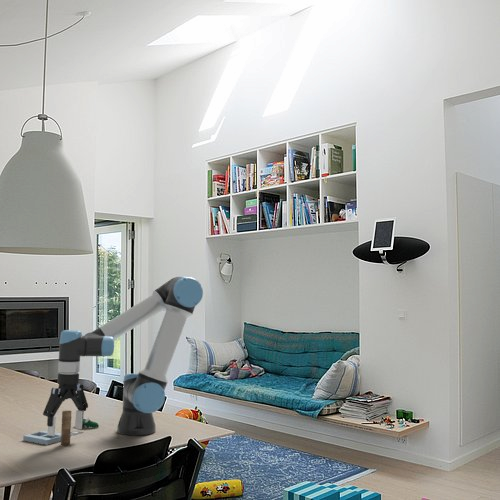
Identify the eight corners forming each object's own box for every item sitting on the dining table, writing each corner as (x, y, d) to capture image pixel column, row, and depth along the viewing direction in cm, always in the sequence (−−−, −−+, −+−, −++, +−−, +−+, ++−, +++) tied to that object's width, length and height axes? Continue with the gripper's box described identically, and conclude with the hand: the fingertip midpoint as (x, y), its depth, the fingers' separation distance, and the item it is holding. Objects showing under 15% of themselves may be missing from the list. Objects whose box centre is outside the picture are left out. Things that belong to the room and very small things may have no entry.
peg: (71, 444, 225) (73, 411, 226) (65, 446, 222) (66, 412, 223) (65, 443, 226) (66, 410, 227) (58, 445, 224) (60, 411, 224)
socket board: (67, 439, 232) (67, 434, 232) (46, 445, 223) (47, 440, 223) (43, 435, 237) (43, 430, 237) (23, 440, 229) (23, 435, 229)
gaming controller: (80, 429, 257) (72, 420, 254) (85, 421, 259) (78, 413, 256) (94, 433, 251) (86, 424, 248) (100, 425, 253) (92, 416, 250)
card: (83, 432, 243) (83, 432, 243) (65, 437, 235) (65, 437, 235) (74, 430, 246) (74, 430, 246) (56, 435, 237) (57, 435, 237)
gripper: (84, 368, 239) (81, 424, 237) (34, 375, 217) (31, 436, 215) (99, 370, 235) (96, 427, 234) (50, 377, 213) (46, 440, 212)
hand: (65, 432), depth 224 cm, fingers open, 13 cm apart
